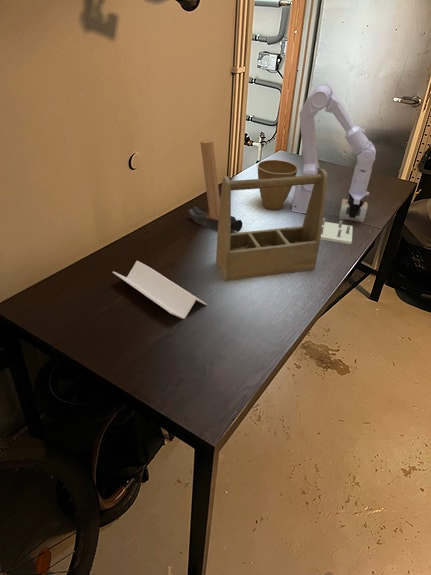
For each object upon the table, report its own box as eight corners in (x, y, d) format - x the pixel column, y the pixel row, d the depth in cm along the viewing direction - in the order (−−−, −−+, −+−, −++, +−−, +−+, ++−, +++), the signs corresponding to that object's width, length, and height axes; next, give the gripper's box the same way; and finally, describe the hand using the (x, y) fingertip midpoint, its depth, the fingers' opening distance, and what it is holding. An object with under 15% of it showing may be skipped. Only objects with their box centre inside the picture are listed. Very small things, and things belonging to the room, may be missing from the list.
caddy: (224, 282, 125) (230, 184, 108) (215, 262, 134) (218, 169, 116) (315, 270, 132) (334, 176, 114) (300, 252, 140) (316, 163, 123)
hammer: (190, 226, 157) (177, 141, 142) (198, 221, 160) (187, 138, 146) (234, 234, 145) (225, 143, 131) (243, 229, 149) (235, 139, 134)
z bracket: (139, 284, 130) (149, 267, 130) (195, 324, 116) (207, 304, 116) (112, 272, 120) (124, 253, 120) (171, 313, 106) (184, 292, 106)
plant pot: (291, 216, 161) (297, 175, 152) (252, 212, 163) (256, 171, 154) (292, 199, 173) (298, 161, 164) (255, 196, 175) (259, 157, 166)
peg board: (306, 237, 149) (308, 228, 147) (310, 222, 158) (312, 213, 156) (351, 244, 146) (353, 235, 144) (352, 228, 155) (354, 219, 153)
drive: (338, 218, 161) (342, 203, 158) (339, 213, 165) (342, 198, 161) (363, 222, 159) (367, 207, 156) (363, 217, 163) (367, 202, 160)
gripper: (372, 189, 147) (362, 224, 155) (371, 174, 158) (363, 207, 166) (351, 186, 148) (343, 221, 156) (352, 171, 160) (344, 205, 168)
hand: (352, 214), depth 161 cm, fingers closed on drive, 5 cm apart
